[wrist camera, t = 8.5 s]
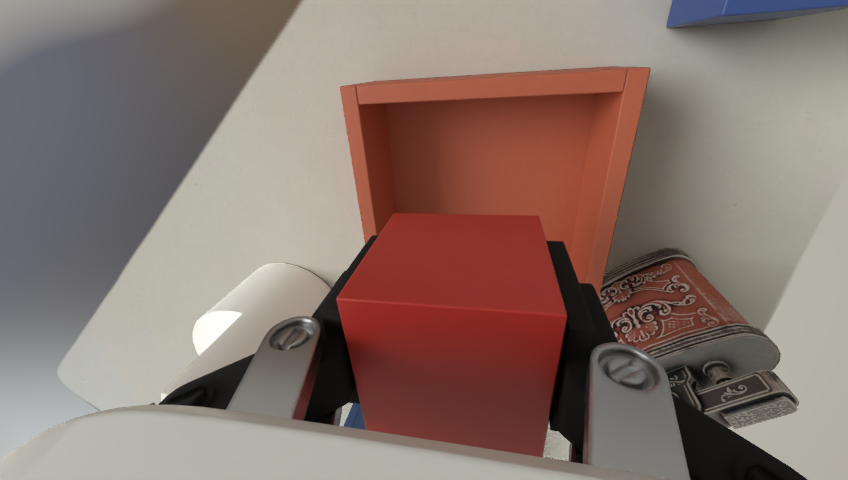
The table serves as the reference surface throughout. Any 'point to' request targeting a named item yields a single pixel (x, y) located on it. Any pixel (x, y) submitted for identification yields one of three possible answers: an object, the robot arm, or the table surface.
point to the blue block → (744, 10)
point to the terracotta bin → (500, 150)
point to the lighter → (696, 339)
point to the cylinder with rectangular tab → (250, 317)
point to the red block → (457, 330)
